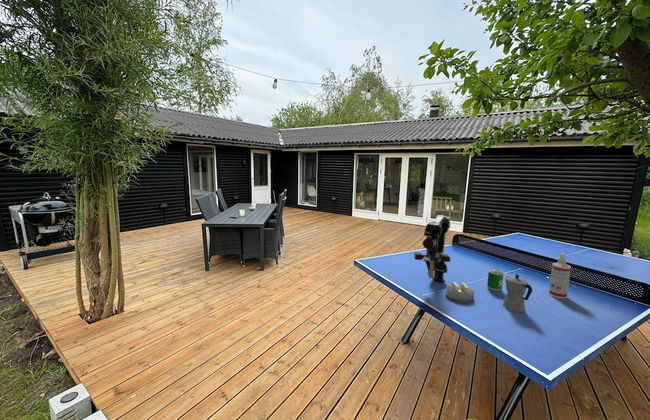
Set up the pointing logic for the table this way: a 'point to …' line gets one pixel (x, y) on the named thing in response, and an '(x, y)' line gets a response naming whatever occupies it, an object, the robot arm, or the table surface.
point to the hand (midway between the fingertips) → (430, 271)
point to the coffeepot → (516, 293)
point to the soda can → (495, 279)
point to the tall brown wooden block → (431, 269)
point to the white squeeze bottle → (560, 278)
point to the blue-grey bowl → (460, 292)
